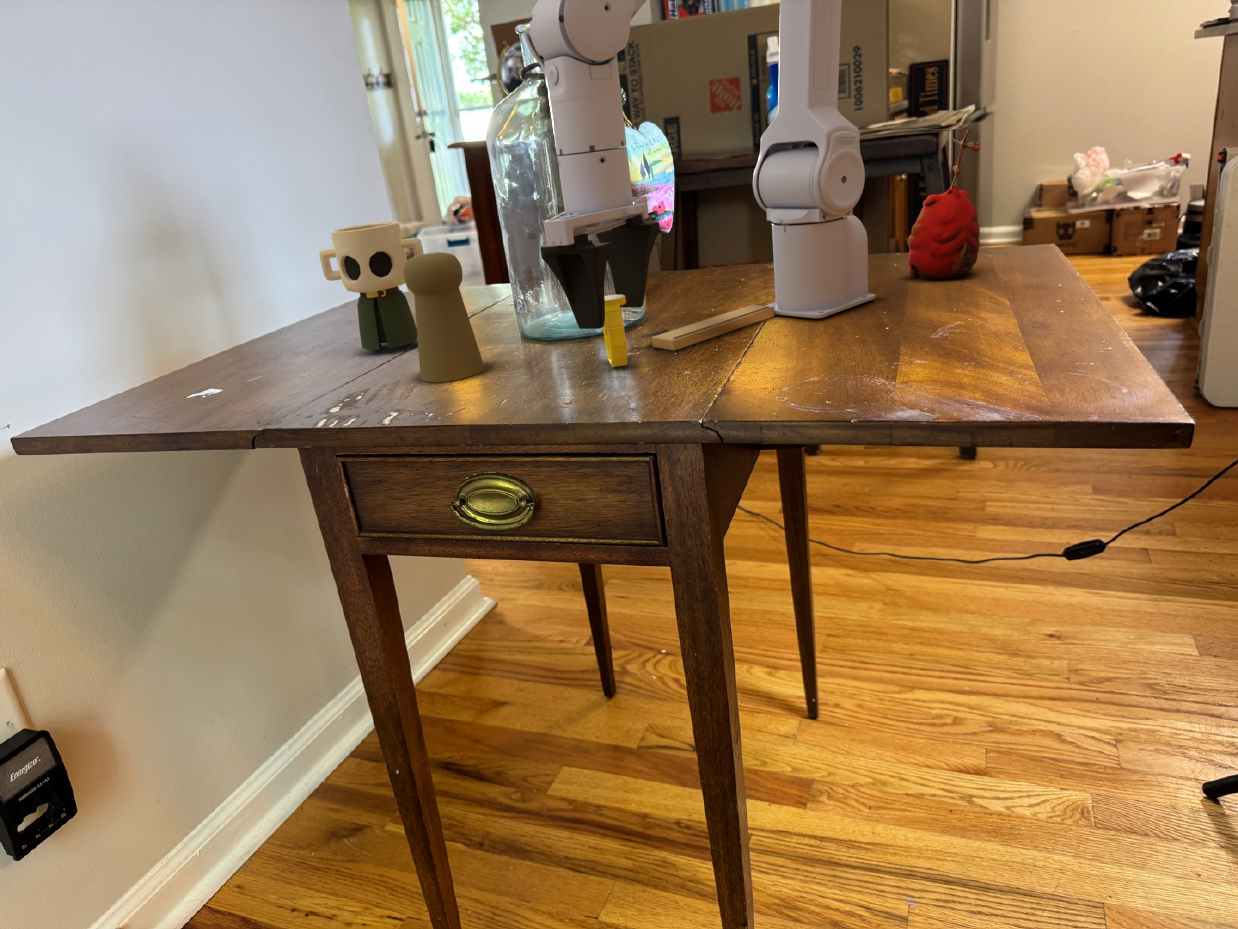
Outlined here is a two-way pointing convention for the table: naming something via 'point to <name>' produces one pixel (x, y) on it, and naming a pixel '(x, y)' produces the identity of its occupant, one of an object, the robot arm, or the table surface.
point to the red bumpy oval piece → (946, 231)
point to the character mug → (375, 280)
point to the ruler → (712, 327)
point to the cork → (442, 319)
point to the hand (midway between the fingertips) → (612, 316)
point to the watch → (615, 330)
